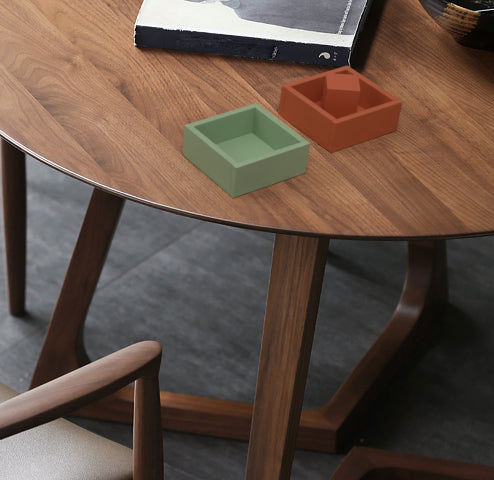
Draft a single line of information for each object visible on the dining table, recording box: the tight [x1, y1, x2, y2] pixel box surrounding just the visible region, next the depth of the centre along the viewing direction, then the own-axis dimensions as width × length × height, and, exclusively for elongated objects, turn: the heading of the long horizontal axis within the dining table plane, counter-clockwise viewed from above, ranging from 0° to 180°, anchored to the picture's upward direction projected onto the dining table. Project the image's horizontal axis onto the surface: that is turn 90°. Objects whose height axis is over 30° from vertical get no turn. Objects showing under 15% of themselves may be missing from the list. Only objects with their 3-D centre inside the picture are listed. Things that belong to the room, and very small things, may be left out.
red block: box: [321, 73, 360, 119], centre depth 134 cm, size 4×4×5 cm
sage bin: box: [182, 102, 311, 199], centre depth 128 cm, size 11×11×4 cm
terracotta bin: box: [277, 65, 403, 154], centre depth 135 cm, size 11×11×4 cm
